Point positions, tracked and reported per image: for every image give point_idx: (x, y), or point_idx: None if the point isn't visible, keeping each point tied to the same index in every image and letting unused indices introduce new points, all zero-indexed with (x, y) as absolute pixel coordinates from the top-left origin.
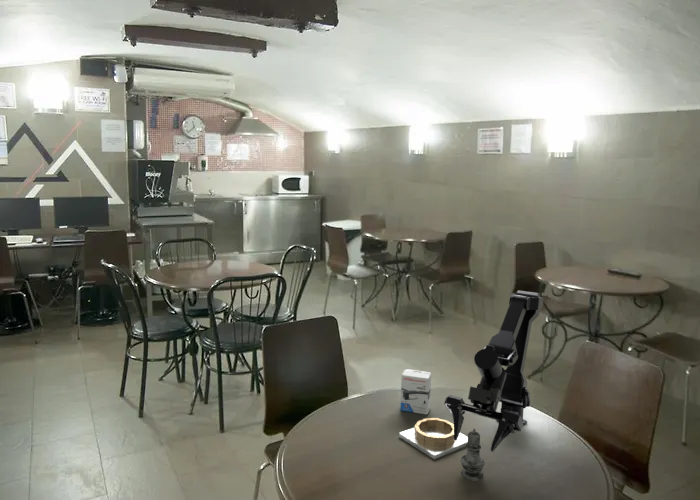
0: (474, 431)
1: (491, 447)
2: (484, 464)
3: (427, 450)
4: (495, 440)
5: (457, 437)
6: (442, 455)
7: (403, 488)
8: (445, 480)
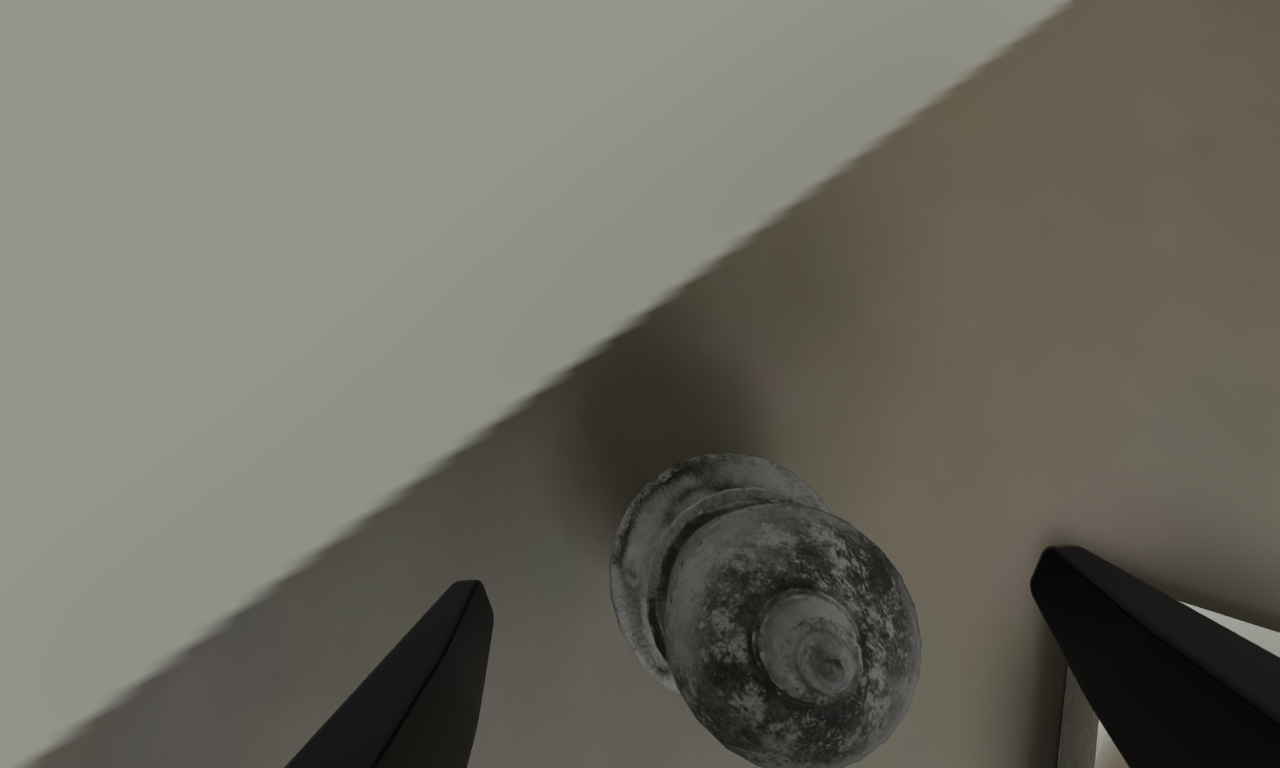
0: (799, 634)
1: (459, 601)
2: (610, 586)
3: (1225, 619)
4: (356, 716)
5: (1067, 635)
6: (1071, 679)
7: (978, 138)
8: (829, 366)
